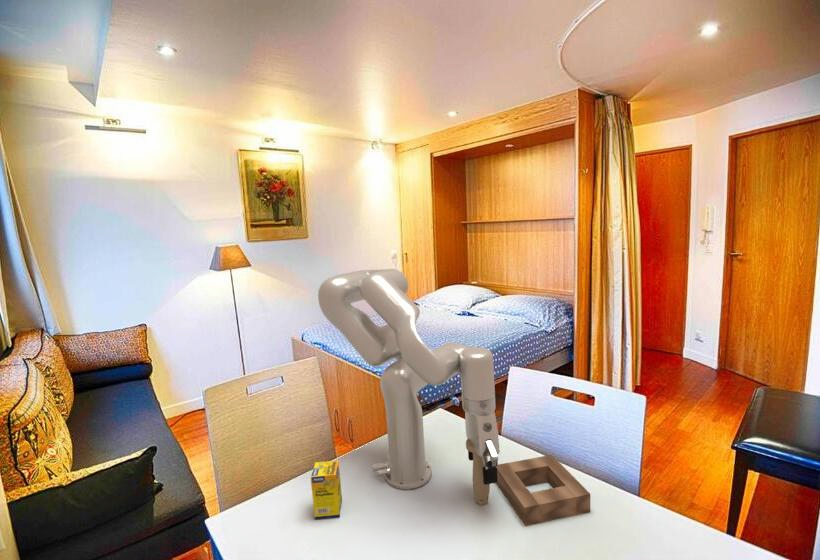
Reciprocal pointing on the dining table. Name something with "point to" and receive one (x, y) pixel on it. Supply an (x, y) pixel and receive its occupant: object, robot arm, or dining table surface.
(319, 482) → the supplement box
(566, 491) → the socket block
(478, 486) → the handle
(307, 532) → the dining table surface
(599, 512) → the dining table surface
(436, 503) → the dining table surface
